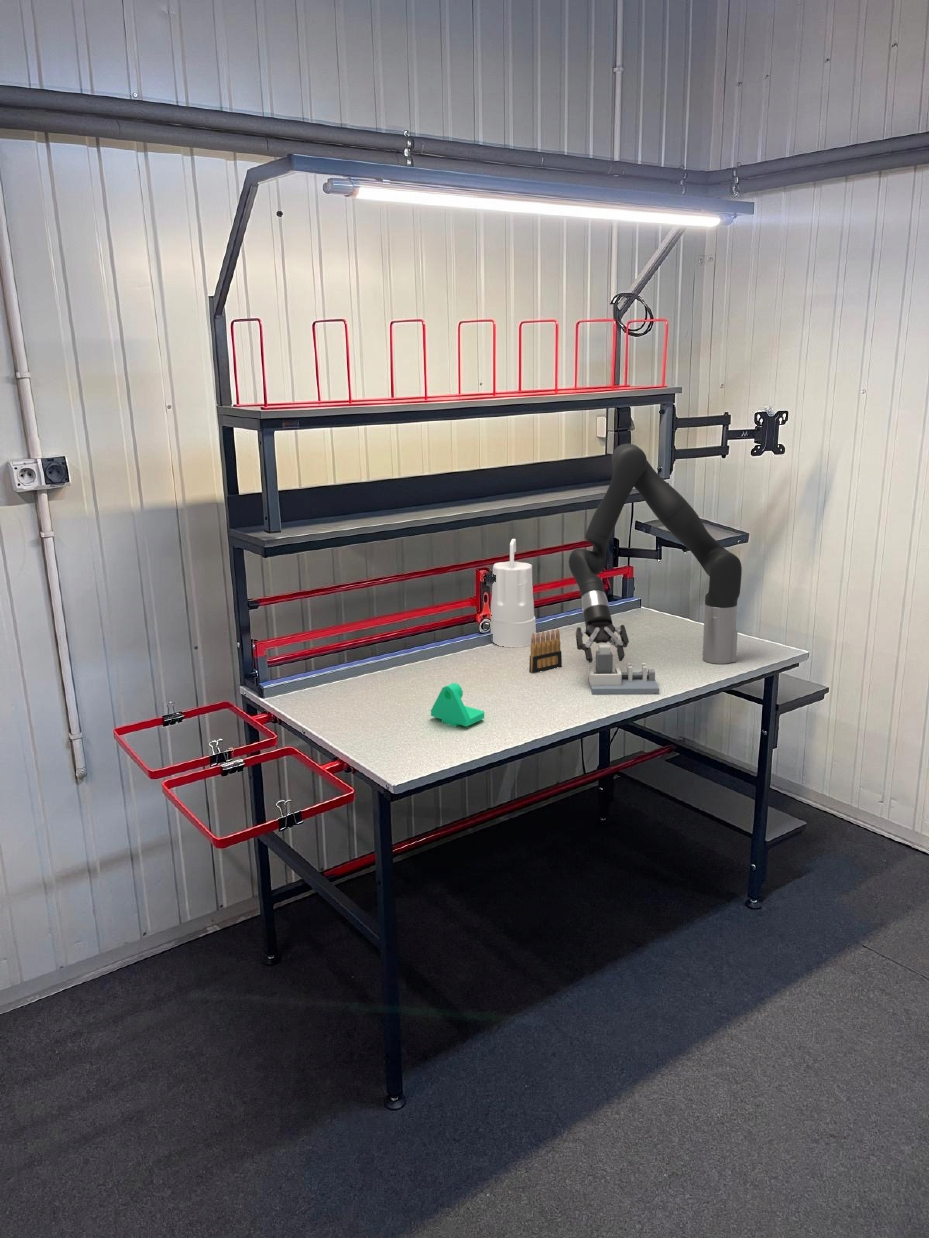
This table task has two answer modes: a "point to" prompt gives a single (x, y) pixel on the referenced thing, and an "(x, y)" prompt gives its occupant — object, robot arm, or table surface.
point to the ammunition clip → (545, 652)
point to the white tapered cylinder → (512, 603)
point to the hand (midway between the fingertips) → (606, 660)
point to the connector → (604, 660)
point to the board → (623, 681)
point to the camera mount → (454, 707)
